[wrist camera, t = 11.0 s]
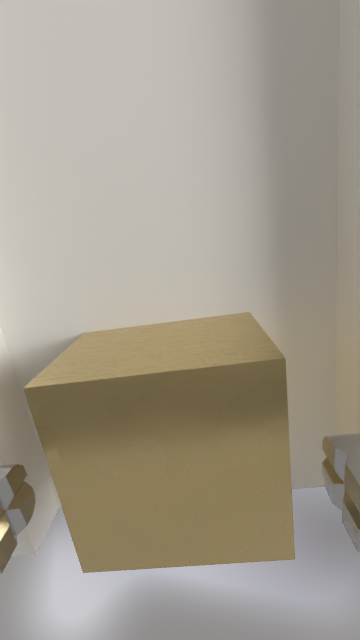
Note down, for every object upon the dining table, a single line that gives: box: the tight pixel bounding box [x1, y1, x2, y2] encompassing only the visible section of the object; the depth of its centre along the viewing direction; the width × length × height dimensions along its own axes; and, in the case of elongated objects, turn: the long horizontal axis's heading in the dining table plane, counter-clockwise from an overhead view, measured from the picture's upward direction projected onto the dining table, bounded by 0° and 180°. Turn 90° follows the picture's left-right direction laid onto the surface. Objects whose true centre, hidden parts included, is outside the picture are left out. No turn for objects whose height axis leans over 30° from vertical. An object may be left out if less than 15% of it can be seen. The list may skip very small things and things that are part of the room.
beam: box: [0, 0, 360, 556], centre depth 9 cm, size 26×14×4 cm, turn 8°
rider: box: [23, 312, 295, 573], centre depth 9 cm, size 6×6×4 cm
